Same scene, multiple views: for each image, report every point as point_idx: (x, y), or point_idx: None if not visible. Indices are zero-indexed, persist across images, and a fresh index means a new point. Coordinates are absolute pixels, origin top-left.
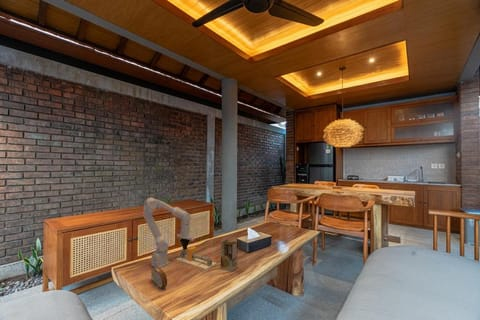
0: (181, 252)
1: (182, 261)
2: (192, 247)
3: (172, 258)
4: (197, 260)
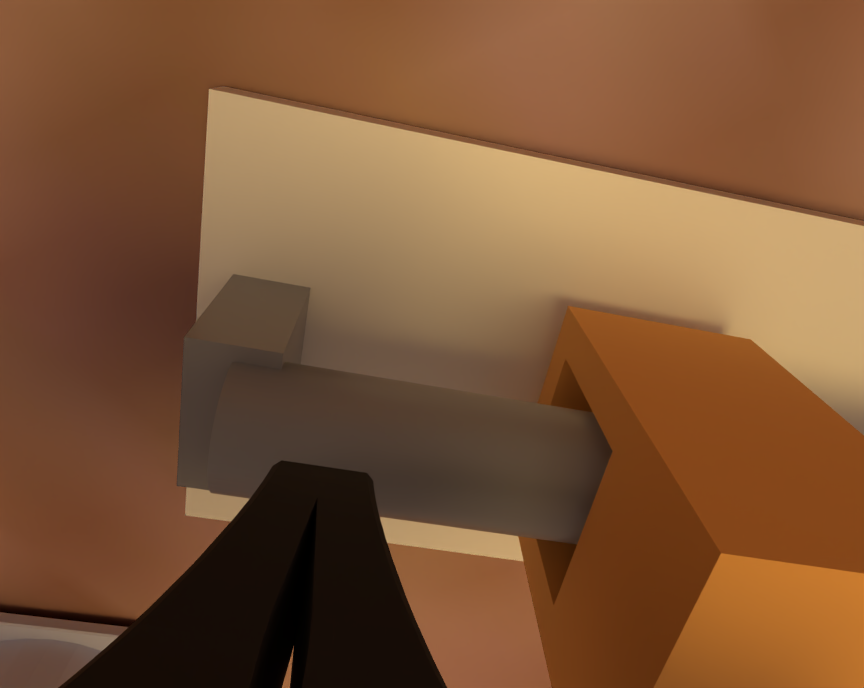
0: (202, 469)
1: (436, 539)
2: (836, 678)
3: (27, 439)
4: (815, 393)
